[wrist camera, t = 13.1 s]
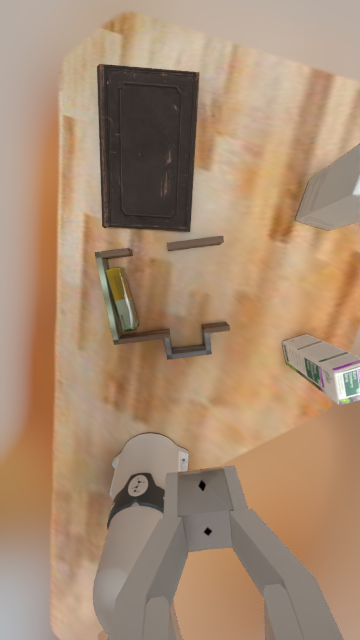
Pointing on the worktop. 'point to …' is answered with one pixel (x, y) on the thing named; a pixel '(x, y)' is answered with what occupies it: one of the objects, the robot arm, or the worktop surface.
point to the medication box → (123, 298)
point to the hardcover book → (147, 146)
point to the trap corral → (160, 334)
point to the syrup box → (325, 367)
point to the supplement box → (333, 194)
